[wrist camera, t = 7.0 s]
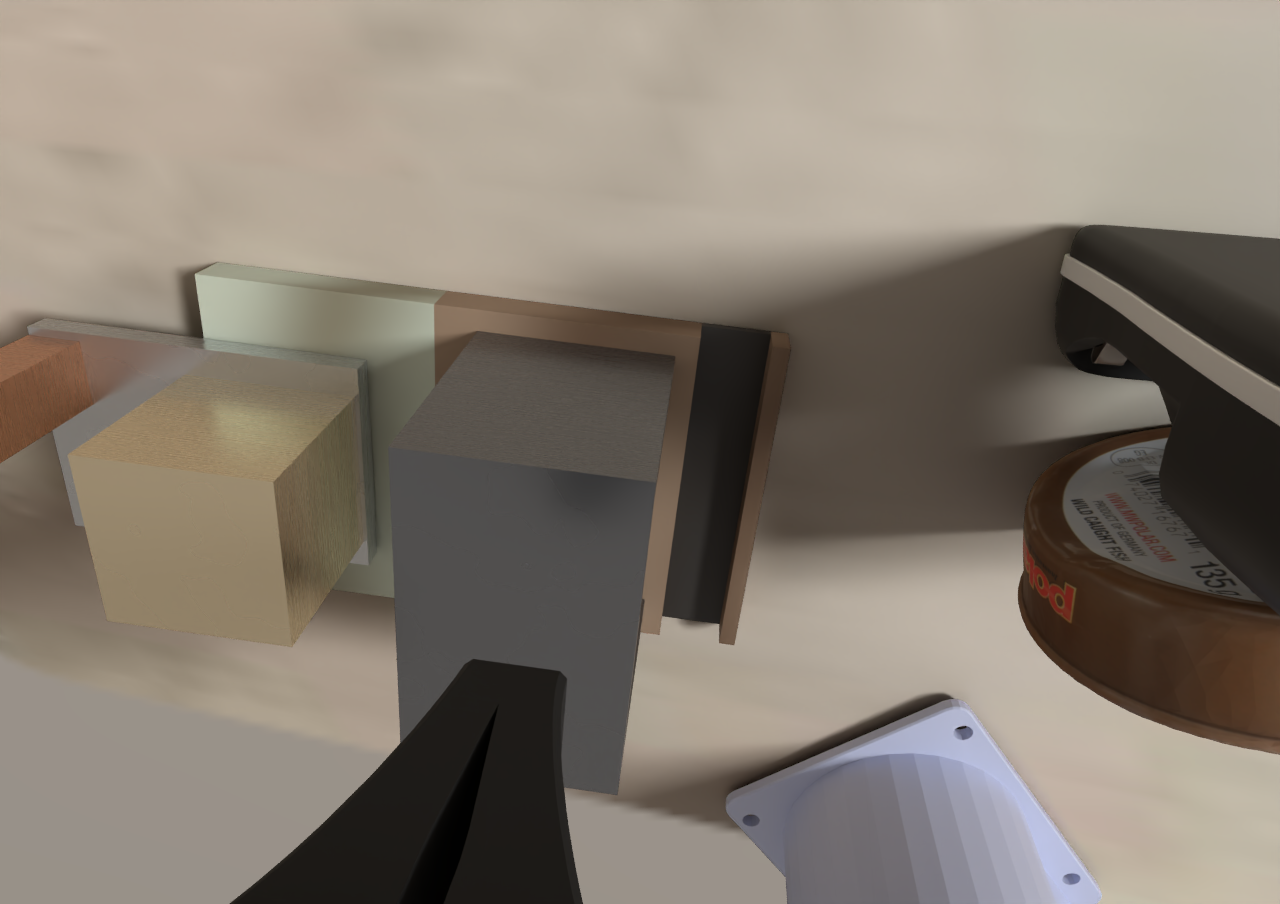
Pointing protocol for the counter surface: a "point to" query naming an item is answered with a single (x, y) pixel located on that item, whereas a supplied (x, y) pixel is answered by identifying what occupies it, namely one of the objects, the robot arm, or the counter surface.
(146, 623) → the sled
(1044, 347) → the counter surface
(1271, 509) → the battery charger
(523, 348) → the grey box
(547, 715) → the robot arm
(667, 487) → the track board
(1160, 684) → the tin
